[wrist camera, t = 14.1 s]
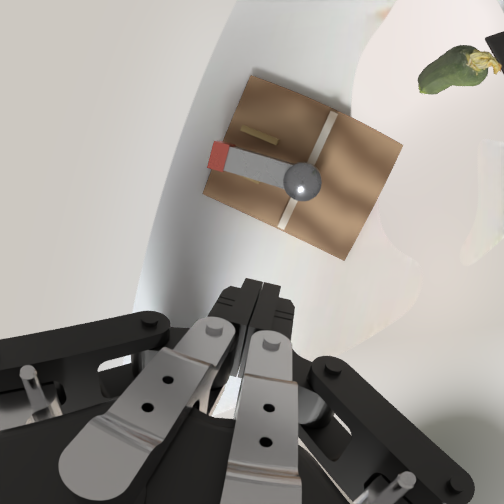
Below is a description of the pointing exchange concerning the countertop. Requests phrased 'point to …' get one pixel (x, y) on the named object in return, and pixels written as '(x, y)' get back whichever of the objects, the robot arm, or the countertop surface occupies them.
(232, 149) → the bar
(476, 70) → the vegetable
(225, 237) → the countertop surface
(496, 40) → the barrier
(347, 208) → the door board
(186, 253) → the countertop surface
